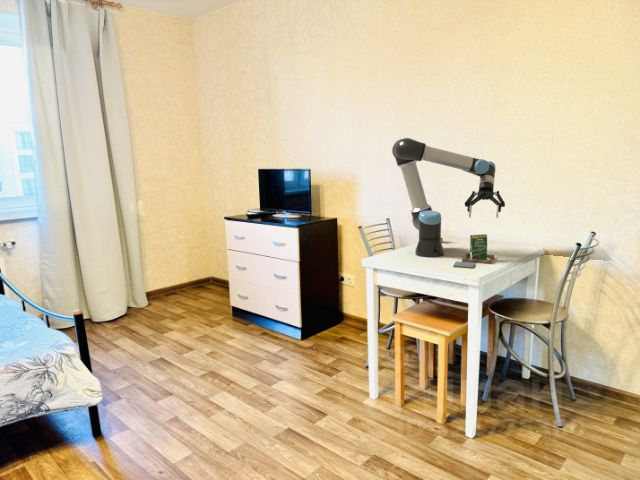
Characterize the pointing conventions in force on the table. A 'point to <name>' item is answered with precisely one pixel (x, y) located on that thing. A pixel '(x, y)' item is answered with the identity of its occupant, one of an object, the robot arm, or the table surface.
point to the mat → (464, 264)
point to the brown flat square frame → (477, 259)
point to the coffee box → (478, 247)
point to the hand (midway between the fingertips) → (483, 216)
